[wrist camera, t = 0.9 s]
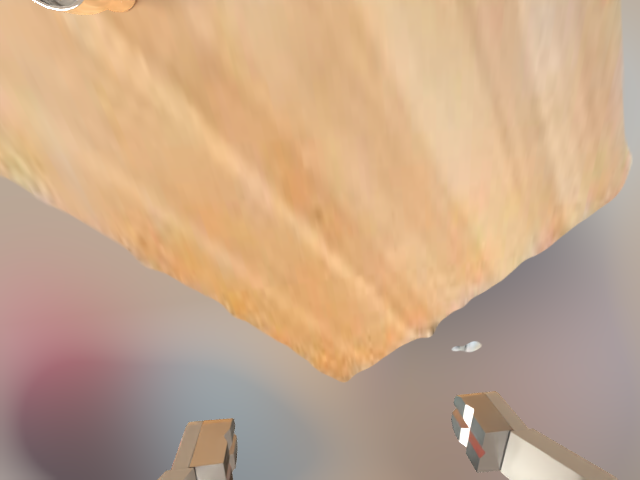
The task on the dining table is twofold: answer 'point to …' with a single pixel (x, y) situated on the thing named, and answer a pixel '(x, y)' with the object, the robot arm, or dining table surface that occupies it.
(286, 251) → the dining table surface
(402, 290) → the dining table surface
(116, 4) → the beer glass
